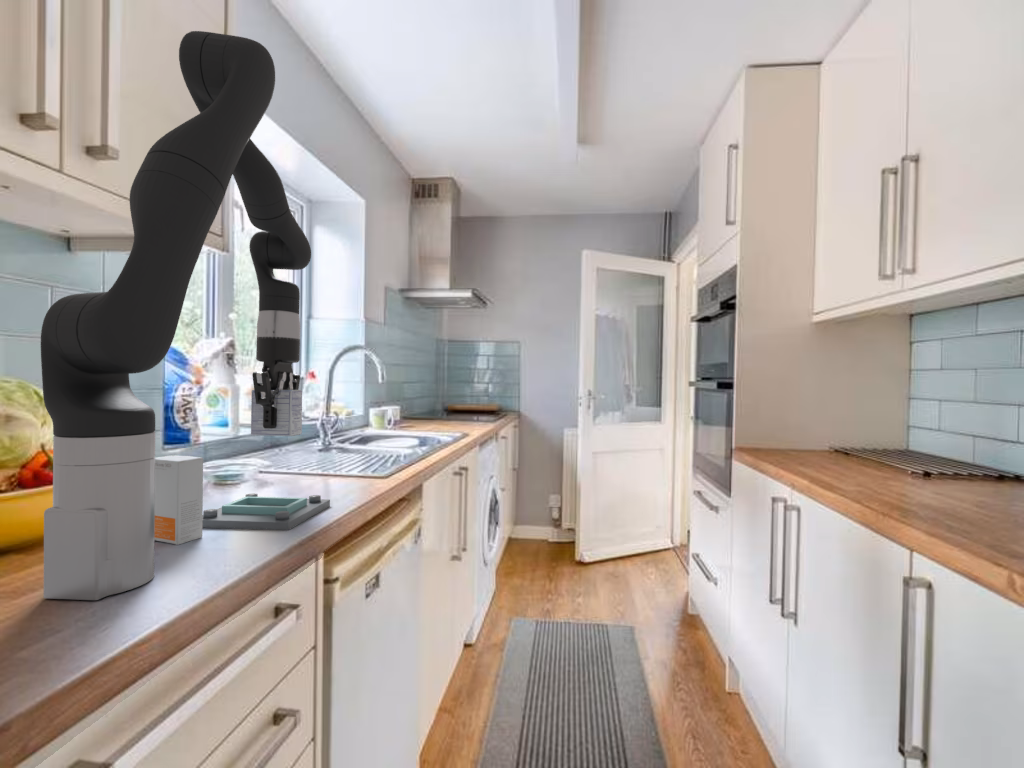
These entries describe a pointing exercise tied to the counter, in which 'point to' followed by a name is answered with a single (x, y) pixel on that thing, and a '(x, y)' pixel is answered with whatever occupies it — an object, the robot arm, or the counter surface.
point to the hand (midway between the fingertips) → (276, 426)
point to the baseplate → (264, 512)
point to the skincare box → (178, 498)
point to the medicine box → (279, 415)
